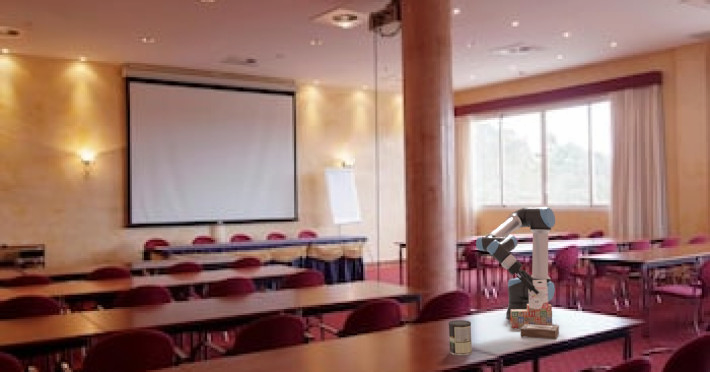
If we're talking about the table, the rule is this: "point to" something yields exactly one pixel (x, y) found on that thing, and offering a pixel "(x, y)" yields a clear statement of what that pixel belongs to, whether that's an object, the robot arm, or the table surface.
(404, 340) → the table surface
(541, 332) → the walnut plinth
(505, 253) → the robot arm
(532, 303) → the ink cartridge box
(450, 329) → the coffee can
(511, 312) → the stack of blocks
